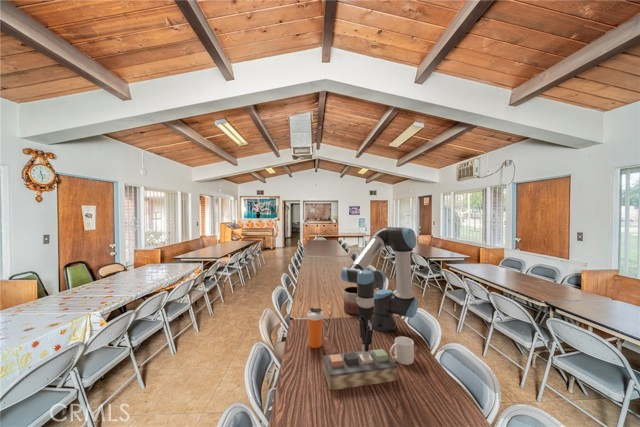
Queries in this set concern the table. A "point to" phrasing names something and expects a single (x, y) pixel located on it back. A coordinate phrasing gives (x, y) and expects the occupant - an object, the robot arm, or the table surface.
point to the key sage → (380, 355)
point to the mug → (403, 350)
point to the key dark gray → (350, 359)
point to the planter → (350, 300)
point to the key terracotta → (335, 361)
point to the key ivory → (365, 359)
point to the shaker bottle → (315, 327)
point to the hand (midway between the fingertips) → (365, 356)
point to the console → (359, 372)
